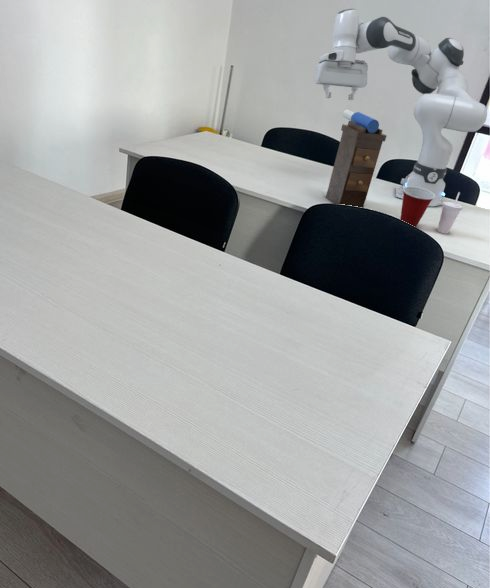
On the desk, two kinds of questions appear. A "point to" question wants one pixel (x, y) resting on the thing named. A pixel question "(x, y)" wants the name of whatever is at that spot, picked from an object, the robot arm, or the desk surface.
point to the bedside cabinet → (354, 165)
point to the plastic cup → (415, 204)
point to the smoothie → (448, 215)
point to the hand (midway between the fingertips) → (339, 98)
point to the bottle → (362, 120)
